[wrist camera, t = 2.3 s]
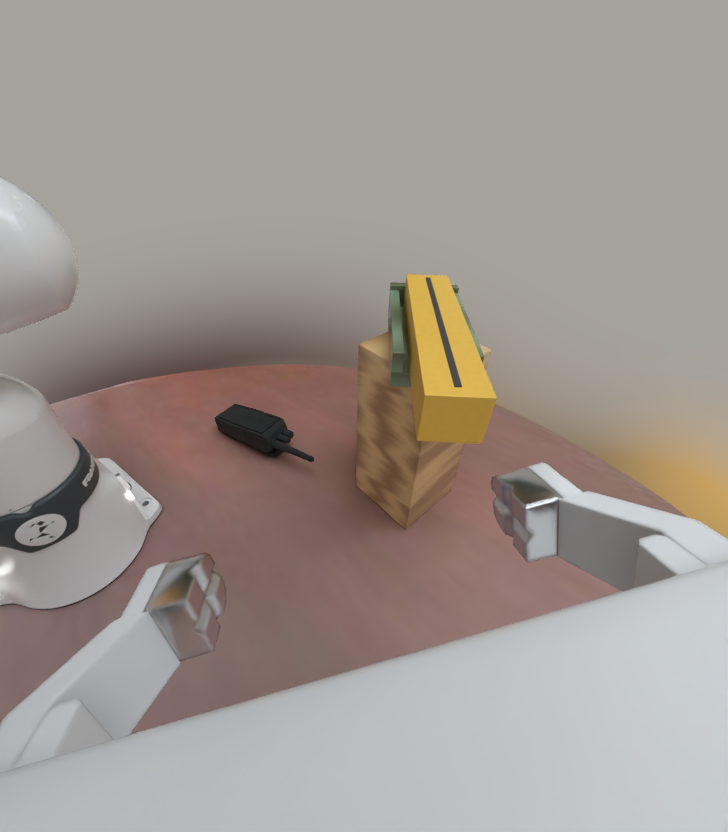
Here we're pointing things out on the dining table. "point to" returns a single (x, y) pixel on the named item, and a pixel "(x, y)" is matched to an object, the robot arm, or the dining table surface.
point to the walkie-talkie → (258, 430)
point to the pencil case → (444, 365)
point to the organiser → (399, 426)
